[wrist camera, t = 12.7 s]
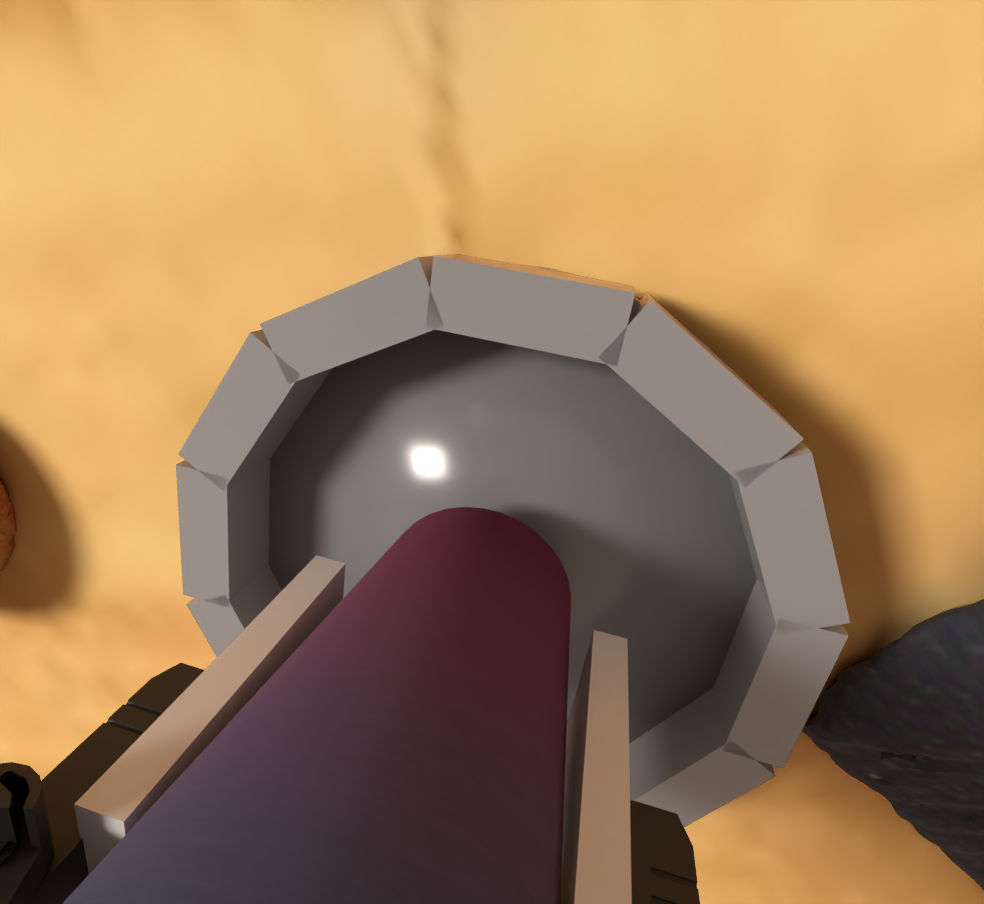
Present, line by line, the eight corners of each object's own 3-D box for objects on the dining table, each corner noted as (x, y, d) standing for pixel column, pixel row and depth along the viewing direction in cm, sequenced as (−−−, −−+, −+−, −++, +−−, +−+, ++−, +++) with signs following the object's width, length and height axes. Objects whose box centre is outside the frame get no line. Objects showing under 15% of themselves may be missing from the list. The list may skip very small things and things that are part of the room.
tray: (246, 686, 22) (191, 750, 19) (243, 212, 15) (161, 205, 13) (694, 825, 19) (707, 922, 17) (909, 333, 13) (987, 357, 10)
